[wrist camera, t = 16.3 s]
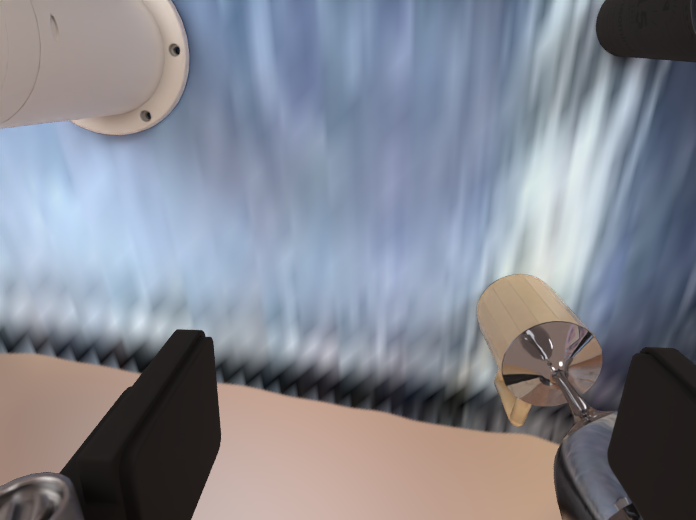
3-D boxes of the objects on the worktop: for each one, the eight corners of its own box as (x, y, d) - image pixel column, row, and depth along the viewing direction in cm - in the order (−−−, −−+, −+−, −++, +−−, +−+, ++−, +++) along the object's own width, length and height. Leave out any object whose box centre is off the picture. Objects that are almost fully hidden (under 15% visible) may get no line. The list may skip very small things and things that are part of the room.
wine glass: (621, 387, 35) (794, 590, 21) (518, 424, 36) (613, 638, 22) (589, 298, 33) (757, 459, 19) (479, 342, 34) (559, 523, 20)
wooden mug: (489, 266, 42) (521, 313, 33) (566, 282, 42) (617, 332, 34) (456, 367, 45) (477, 431, 37) (528, 381, 46) (565, 448, 37)
